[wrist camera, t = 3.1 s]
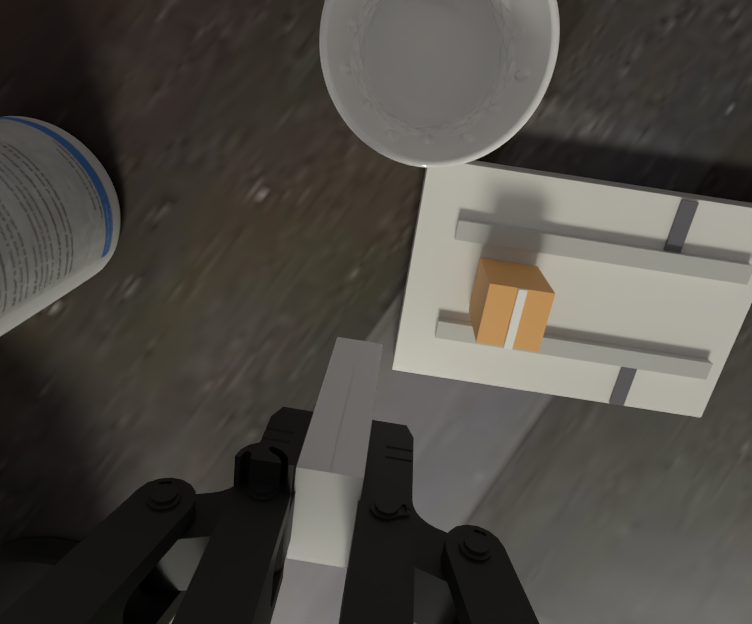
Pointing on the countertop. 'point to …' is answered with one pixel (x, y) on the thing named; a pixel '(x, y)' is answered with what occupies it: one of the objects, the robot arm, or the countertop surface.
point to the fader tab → (510, 304)
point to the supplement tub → (49, 217)
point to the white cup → (437, 73)
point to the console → (580, 284)
